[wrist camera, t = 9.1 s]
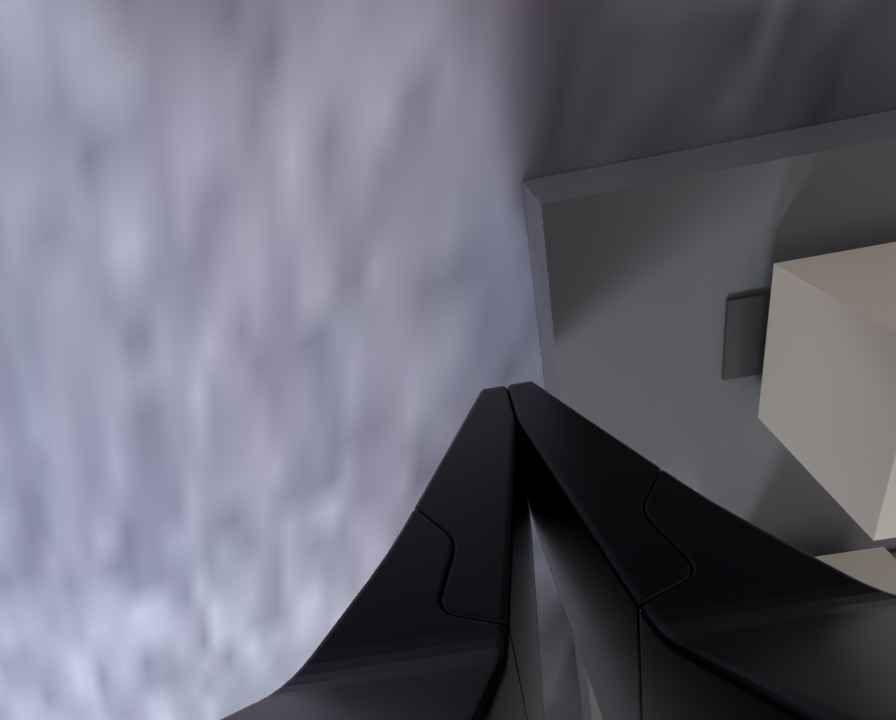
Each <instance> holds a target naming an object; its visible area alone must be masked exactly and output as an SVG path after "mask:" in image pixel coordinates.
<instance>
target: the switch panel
mask: <svg viewBox="0 0 896 720" xmlns="http://www.w3.org/2000/svg"><path fill="white" fill-rule="evenodd" d="M522 186H523V195H524V204H525V212H526V221H527V230H528V239H529V248H530V257H531V266H532V275H533V284H534V292H535V301H536V310H537V319H538V328H539V337H540V346H541V355H542V363H543V372H544V381H545V390H546V391H547V392H548V393H550V394H551V395H553V396H554V397H556V398H557V399H558V400H560V401H561V402H563V403H564V404H566V405H567V406H569V407H570V408H572V409H573V410H575V411H576V412H578V413H579V414H581V415H582V416H584V417H585V418H587V419H588V420H590V421H591V422H593V423H594V424H596V425H597V426H599V427H600V428H602V429H603V430H605V431H606V432H608V433H609V434H611V435H612V436H614V437H615V438H617V439H618V440H620V441H621V442H622V443H624V444H625V445H627V446H628V447H630V448H631V449H633V450H634V451H636V452H637V453H639V454H640V455H642V456H643V457H645V458H646V459H648V460H649V461H651V462H652V463H654V464H655V465H657V466H658V467H660V469H661V471H663V470H664V471H666V472H667V473H669V474H670V475H672V476H673V477H675V478H676V479H678V480H679V481H681V482H682V483H684V484H686V485H687V486H689V487H690V488H692V489H693V490H695V491H697V492H698V493H700V494H701V495H703V496H705V497H706V498H708V499H709V500H711V501H712V502H714V503H716V504H718V505H720V506H721V507H723V508H725V509H727V510H728V511H730V512H732V513H734V514H736V515H737V516H739V517H741V518H743V519H744V520H746V521H748V522H750V523H752V524H754V525H755V526H757V527H759V528H761V529H763V530H765V531H767V532H768V533H770V534H772V535H774V536H776V537H778V538H780V539H782V540H783V541H785V542H787V543H789V544H791V545H793V546H795V547H797V548H798V549H800V550H802V551H804V552H806V553H808V554H810V555H812V556H813V557H817V556H823V555H830V554H837V553H844V552H850V551H857V550H864V549H870V548H877V547H885V548H886V550H887V551H888V552H889V553H890V554H891V555H892V556H893V557H894V558H895V559H896V537H895V538H888V539H882V540H875V541H873V540H872V539H871V538H870V537H869V535H868V534H867V533H866V532H865V531H864V530H863V529H862V528H861V527H860V526H859V525H858V524H857V523H856V522H855V521H854V519H853V518H852V517H851V516H850V515H849V514H848V513H847V512H846V511H845V510H844V509H843V508H842V507H841V506H840V505H839V504H838V502H837V501H836V500H835V499H834V498H833V497H832V496H831V495H830V494H829V493H828V492H827V491H826V490H825V489H824V488H823V486H822V485H821V484H820V483H819V482H818V481H817V480H816V479H815V478H814V477H813V476H812V475H811V474H810V473H809V472H808V470H807V469H806V468H805V467H804V466H803V465H802V464H801V463H800V462H799V461H798V460H797V459H796V458H795V457H794V456H793V454H792V453H791V452H790V451H789V450H788V449H787V448H786V447H785V446H784V445H783V444H782V443H781V442H780V441H779V440H778V438H777V437H776V436H775V435H774V434H773V433H772V432H771V431H770V430H769V429H768V428H767V427H766V426H765V425H764V424H763V422H762V421H761V420H760V419H759V418H758V412H759V402H760V393H761V383H762V373H763V364H764V354H765V344H766V335H767V325H768V315H769V305H770V296H771V286H772V276H773V267H774V263H779V262H785V261H790V260H796V259H802V258H807V257H813V256H818V255H824V254H830V253H835V252H841V251H847V250H852V249H858V248H863V247H869V246H875V245H880V244H886V243H891V242H896V110H891V111H885V112H880V113H875V114H870V115H864V116H859V117H854V118H849V119H843V120H838V121H833V122H828V123H822V124H817V125H812V126H807V127H801V128H796V129H791V130H786V131H780V132H775V133H770V134H765V135H760V136H754V137H749V138H744V139H739V140H733V141H728V142H723V143H718V144H712V145H707V146H702V147H697V148H691V149H686V150H681V151H676V152H670V153H665V154H660V155H655V156H649V157H644V158H639V159H634V160H628V161H623V162H618V163H613V164H607V165H602V166H597V167H592V168H586V169H581V170H576V171H571V172H566V173H560V174H555V175H550V176H545V177H539V178H534V179H529V180H524V181H522ZM573 639H574V636H573ZM574 648H575V657H576V665H577V674H578V683H579V692H580V701H581V710H582V719H583V720H603V718H602V715H601V712H600V709H599V706H598V704H597V701H596V698H595V695H594V692H593V689H592V687H591V684H590V681H589V678H588V675H587V673H586V670H585V667H584V664H583V661H582V658H581V656H580V653H579V650H578V647H577V644H576V641H575V639H574Z"/></svg>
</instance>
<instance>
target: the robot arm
mask: <svg viewBox="0 0 896 720" xmlns="http://www.w3.org/2000/svg"><path fill="white" fill-rule="evenodd" d="M507 390H508V391H507ZM528 503H529V504H528ZM529 508H530V511H529ZM530 512H531V516H532V519H533V522H534V525H535V528H536V531H537V534H538V537H539V540H540V542H541V545H542V548H543V551H544V554H545V557H546V559H547V562H548V565H549V568H550V571H551V573H552V576H553V579H554V582H555V585H556V588H557V590H558V593H559V596H560V599H561V602H562V605H563V607H564V610H565V613H566V616H567V619H568V622H569V624H570V627H571V630H572V633H573V636H574V639H575V641H576V644H577V647H578V650H579V653H580V656H581V658H582V661H583V664H584V667H585V670H586V673H587V675H588V678H589V681H590V684H591V687H592V689H593V692H594V695H595V698H596V701H597V704H598V706H599V709H600V712H601V715H602V718H603V720H896V595H895V594H892V593H888V592H885V591H883V590H880V589H878V588H875V587H873V586H870V585H868V584H865V583H863V582H861V581H859V580H857V579H855V578H853V577H851V576H849V575H847V574H845V573H843V572H841V571H840V570H838V569H836V568H834V567H832V566H830V565H828V564H826V563H825V562H823V561H821V560H819V559H817V558H815V557H813V556H812V555H810V554H808V553H806V552H804V551H802V550H800V549H798V548H797V547H795V546H793V545H791V544H789V543H787V542H785V541H783V540H782V539H780V538H778V537H776V536H774V535H772V534H770V533H768V532H767V531H765V530H763V529H761V528H759V527H757V526H755V525H754V524H752V523H750V522H748V521H746V520H744V519H743V518H741V517H739V516H737V515H736V514H734V513H732V512H730V511H728V510H727V509H725V508H723V507H721V506H720V505H718V504H716V503H714V502H712V501H711V500H709V499H708V498H706V497H705V496H703V495H701V494H700V493H698V492H697V491H695V490H693V489H692V488H690V487H689V486H687V485H686V484H684V483H682V482H681V481H679V480H678V479H676V478H675V477H673V476H672V475H670V474H669V473H667V472H666V471H664V470H663V471H661V469H660V467H658V466H657V465H655V464H654V463H652V462H651V461H649V460H648V459H646V458H645V457H643V456H642V455H640V454H639V453H637V452H636V451H634V450H633V449H631V448H630V447H628V446H627V445H625V444H624V443H622V442H621V441H620V440H618V439H617V438H615V437H614V436H612V435H611V434H609V433H608V432H606V431H605V430H603V429H602V428H600V427H599V426H597V425H596V424H594V423H593V422H591V421H590V420H588V419H587V418H585V417H584V416H582V415H581V414H579V413H578V412H576V411H575V410H573V409H572V408H570V407H569V406H567V405H566V404H564V403H563V402H561V401H560V400H558V399H557V398H556V397H554V396H553V395H551V394H550V393H548V392H547V391H545V390H544V389H542V388H541V387H539V386H538V385H536V384H535V383H533V382H523V383H517V384H512V385H510V386H508V388H506V387H504V386H500V387H494V388H488V389H484V390H482V391H481V392H480V394H479V396H478V398H477V399H476V401H475V403H474V405H473V406H472V408H471V410H470V412H469V414H468V415H467V417H466V419H465V421H464V422H463V424H462V426H461V428H460V429H459V431H458V433H457V435H456V436H455V438H454V440H453V442H452V443H451V445H450V447H449V449H448V451H447V452H446V454H445V456H444V458H443V459H442V461H441V463H440V465H439V466H438V468H437V470H436V472H435V473H434V475H433V477H432V479H431V480H430V482H429V484H428V486H427V487H426V489H425V491H424V493H423V495H422V496H421V498H420V500H419V502H418V503H417V505H416V507H415V510H414V511H413V512H412V513H411V515H410V517H409V519H408V521H407V522H406V524H405V526H404V528H403V529H402V531H401V532H400V534H399V536H398V537H397V539H396V540H395V542H394V544H393V545H392V547H391V549H390V550H389V552H388V553H387V555H386V556H385V558H384V559H383V560H382V562H381V563H380V565H379V566H378V567H377V569H376V570H375V572H374V573H373V574H372V576H371V577H370V579H369V580H368V581H367V583H366V584H365V585H364V587H363V588H362V589H361V591H360V592H359V593H358V595H357V596H356V597H355V599H354V600H353V601H352V603H351V604H350V605H349V607H348V608H347V609H346V611H345V612H344V613H343V615H342V616H341V617H340V619H339V620H338V621H337V623H336V624H335V625H334V627H333V628H332V629H331V631H330V632H329V633H328V634H327V636H326V637H325V638H324V640H323V641H322V642H321V644H320V645H319V646H318V648H317V649H316V650H315V652H314V653H313V654H312V656H311V657H310V658H309V659H308V660H307V662H306V663H305V664H304V665H303V667H302V668H301V669H300V670H299V671H298V672H297V673H296V674H295V675H294V676H293V677H292V678H291V679H290V680H289V681H288V682H286V683H285V684H284V685H283V686H282V687H281V688H279V689H278V690H276V691H275V692H274V693H272V694H271V695H269V696H268V697H266V698H264V699H262V700H260V701H258V702H256V703H254V704H252V705H250V706H248V707H246V708H244V709H242V710H240V711H238V712H235V713H233V714H231V715H229V716H227V717H225V718H223V719H221V720H544V706H543V691H542V677H541V662H540V647H539V632H538V618H537V603H536V588H535V573H534V558H533V544H532V529H531V519H530Z"/></svg>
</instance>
